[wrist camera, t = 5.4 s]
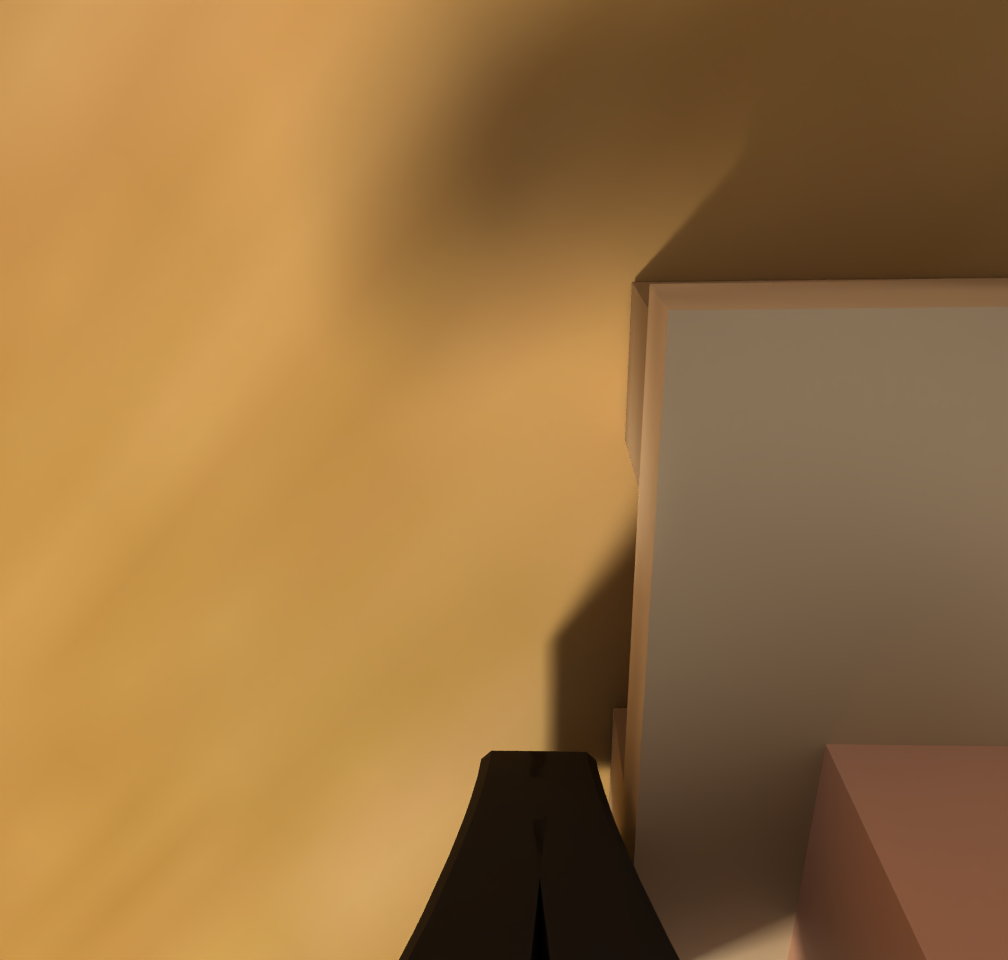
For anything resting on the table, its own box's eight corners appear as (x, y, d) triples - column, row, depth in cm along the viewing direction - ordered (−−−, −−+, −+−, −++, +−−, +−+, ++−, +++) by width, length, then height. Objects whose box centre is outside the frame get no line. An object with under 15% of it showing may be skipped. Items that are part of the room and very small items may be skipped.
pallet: (1138, 1081, 12) (1258, 1270, 10) (597, 1069, 13) (609, 1250, 11) (1523, 248, 7) (1886, 296, 5) (632, 260, 8) (667, 310, 6)
